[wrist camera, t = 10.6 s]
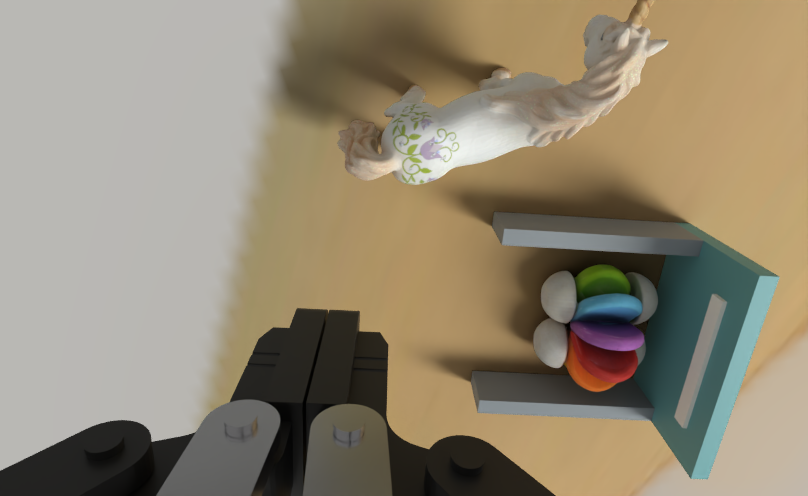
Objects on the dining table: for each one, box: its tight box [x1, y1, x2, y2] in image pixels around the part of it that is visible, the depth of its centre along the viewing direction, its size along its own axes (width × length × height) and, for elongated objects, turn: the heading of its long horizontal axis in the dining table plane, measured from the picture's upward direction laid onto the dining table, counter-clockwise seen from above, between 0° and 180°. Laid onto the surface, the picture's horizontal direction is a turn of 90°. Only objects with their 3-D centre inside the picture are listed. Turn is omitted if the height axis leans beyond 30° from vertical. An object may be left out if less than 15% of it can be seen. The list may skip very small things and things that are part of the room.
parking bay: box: [471, 212, 779, 479], centre depth 38 cm, size 15×15×10 cm
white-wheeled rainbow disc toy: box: [533, 264, 658, 392], centre depth 39 cm, size 8×10×7 cm
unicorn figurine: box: [337, 0, 668, 185], centre depth 30 cm, size 7×20×13 cm, turn 123°
